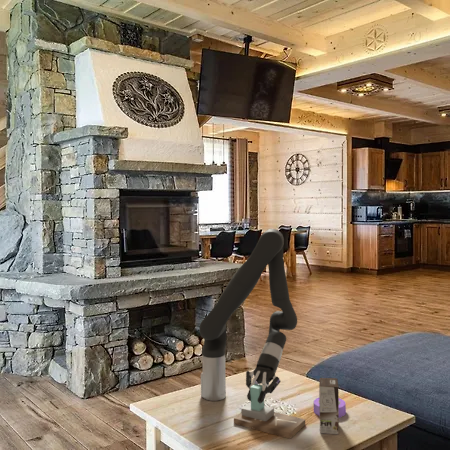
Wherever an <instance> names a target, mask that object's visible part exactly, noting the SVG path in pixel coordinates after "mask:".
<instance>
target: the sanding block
mask: <svg viewBox="0 0 450 450" xmlns="http://www.w3.org/2000/svg"><path fill="white" fill-rule="evenodd" d="M261 391H262V384H254V385H253V386H251V387H250V394H251V401H249V402H248V403H247V404H245V405H244V406H242V407H241V409H240V410H241V412H240V414H241V413H242V415H243V416H247V417H251V418H255V419H258V420H262V421H267V420H268V419H270V418H271V417H272V416H273V415H274V412H275V408H274V407H272V406H268V405H265V400H264V401H263V402H262V403H259V402H258V397H259V395H260V392H261Z"/></svg>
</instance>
